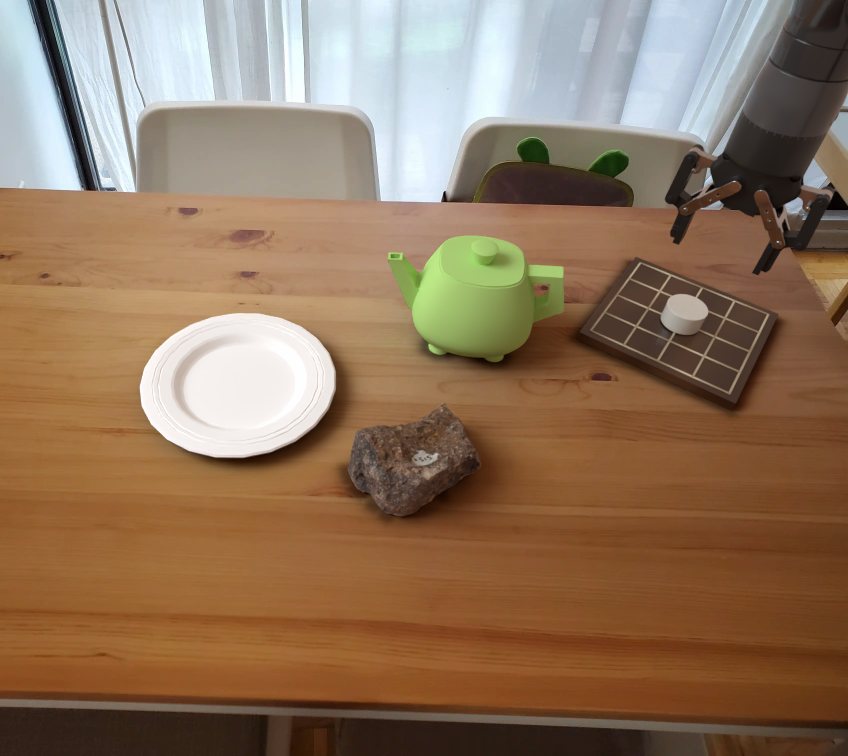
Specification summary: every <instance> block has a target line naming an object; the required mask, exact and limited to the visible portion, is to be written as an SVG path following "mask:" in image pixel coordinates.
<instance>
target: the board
mask: <svg viewBox="0 0 848 756" xmlns="http://www.w3.org/2000/svg"><path fill="white" fill-rule="evenodd" d="M676 294H686V295H691V296H694V297H696V298H698V299H700V300H701V301H702V302H703V303H705V305H706V306H707V308H708V315H707V317H706V319H705V321H704V323H703V325H702V327H701V328H700V330H699V331H698V332H697V333H695V334H692V335H682V334H678V333H675V332H673V331H671V330H669V329H668V328H666V327H665V326H664V325H663V323H662V321H661V314H662V312H663V309H664V307H665V305H666V303H667V301H668V299H669V298H670V297H671V296H673V295H676ZM778 317H779V313H778V312H775V311H772V310H770V309H768V308H765V307H762V306H760V305H757V304H755V303H753V302H750V301H747V300H745V299H742V298H741V297H738V296H736V295H732V294H729V292H728V293H727V292H725V291H723V290H720V289H718V288H715V287H713V286H710V285H707V284H705V283H702V282H700V281H698V280H695V279H693V278H690V277H688V276H685V275H682V274H681V273H678V272H675V271H673V270H670V269H667V268H665V267H663V266H660V265H658V264H655V263H652V262H650V261H647V260H646V259H643V258H640V257H638V256H635V257H634V258H633V260H632V261H631V262H630V264H629V265H628V266H627V268H626V269H625V270H624V271H623V273H622V274H621V276H620V277H619V278H618V279H617V281H616V282H615V284H614V285H613V286H612V288H611V289H610V290H609V292H608V293H607V294H606V296H605V297H604V299H602V301H601V302H600V304H599V305H598V307H597V308H596V309H595V310H594V311H593V312H592V314H591V316H590V317H589V319H588V320H587V321H586V322H585V324H584V325H583V326H582V328H580V329H581V330H579V332H578V334H577V337H576V340H577V341H579V342H582V343H584V344H586V345H588V346H590V347H593V348H595V349H597V350H599V351H601V352H604V353H606V354H608V355H610V356H612V357H613V358H614V357H615V358H616V359H618V360H621V361H623V362H625V363H627V364H629V365H632V366H633V367H636V368H638V369H641V370H643V371H645V372H647V373H649V374H651V375H654V376H655V377H657V378H660V379H662V380H664V381H666V382H669V383H670V384H673V385H675V386H677V387H679V388H681V389H683V390H685V391H687V392H690V393H693V394H694V395H696V396H699V397H701V398H703V399H705V400H707V401H709V402H712V403H714V404H716V405H718V406H721V407H722V408H725V409H727V410H729V411H732V410H733V408H734V407H735V406H736V404H737V403H738V399H739V397H740V396H741V394H742V392H743V389H744V388H745V386H746V383H747V382H748V380H749V377H750V375H751V373H752V370H753V368H754V367H755V364H756V363H757V360H758V358H759V356H760V354H761V352H762V350H763V348H764V346H765V344H766V342H767V339H768V338H769V335H770V333H771V332H772V329H773V326H774V325H775V323H776V321H777V318H778Z"/></svg>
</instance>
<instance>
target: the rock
mask: <svg viewBox="0 0 848 756" xmlns="http://www.w3.org/2000/svg"><path fill="white" fill-rule="evenodd" d="M479 455H480V454H479V453H478V452H477V449H476V448H475V446H474V443H473V442H472V441H471V440H470V439H469V438H468V436H467V433H466V428H465V427H464V424H463V422H462V421H461V419H460V417H458V416H457V415H456V414H454V413H453V412H452V409H450V407H448V406H447V404H446V403H445V402H441V403H440V404H439V405H438V406H437V407H435V408H434V409H433V410H432V411H431V412H430V413H428V414H426V415H424V416H422V417H420V419H418V420H416V421H413V422H408V423H405V424H403V423H402V424H397V425H386V424H381V425H380V424H379V425H372V426H370V427H364V428H359V429H358V430H357V431H355V434H354V439H353V443H352V447H351V450H350V454H349V456H350V459H349V465H348V466H347V472H348V474H349V477H350V480H351V481H352V483H353V485H354V486H355V488H356V489H357V490H359V491H360V492H362V493H368V494H369V495H370V497H372V499H373V501H374V502H375V505H377V506H378V507H379V508H380V509H381V510H382V511H383V512H384V513H385V514H387V515H393V516H396V517H405V516H408V515H412V514H415V513H417V511H419V510H420V508H422V507H423V506H425V505H427V504H428V503H430V502H432V501H433V500H434V498H436V497H437V496H438V495H440V494H441V493H442V492H445V491H446V490H448V489H450V488H452V487H453V486H456V484H457V483H458V482H459V481H461V480H463V478H464V477H466V476H468V475H469V476H470V475H473V474H474V473H476V472H477V471H478V470H480V469H481V467H482V463H481V460H480V456H479Z"/></svg>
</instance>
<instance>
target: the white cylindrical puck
mask: <svg viewBox="0 0 848 756" xmlns="http://www.w3.org/2000/svg"><path fill="white" fill-rule="evenodd" d="M707 315H708V308H707V306H706V305H705V303H703V302H702V301H701V300H700V299H698V298H696V297H694V296H691V295H686V294H676V295H673V296H671V297H670V298H669V299H668V301H667V303H666V305H665V307H664V309H663V312H662V314H661V321H662V323H663V325H664V326H665V327H666V328H668V329H669V330H671V331H673V332H675V333H678V334H682V335H692V334H695V333H697V332H698V331H699V330H700V328H701V327H702V325H703V323H704V321H705V319H706V317H707Z"/></svg>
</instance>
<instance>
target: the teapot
mask: <svg viewBox="0 0 848 756" xmlns="http://www.w3.org/2000/svg"><path fill="white" fill-rule="evenodd" d="M387 263H388V265H389V267H390V270H391V273H392V275H393V276H394V278H395V281H396V283H397V286H398V288H399V290H400V292H401V294H402V296H403V298H404V300H405V303H406V305H407V307H408V308H409V309H411V316H412V322H413V325H414V327H415V329H416V331H417V332H418V334H419V335H420V336H421V337H422V339H423V340H424V341H425V342H426V343H427V344H428V349H429V351H430V352H431V353H433V354H434V355H438V356H439V355H440V356H442V355H445V354H447V353H450V354H452V355H456V356H462V357H467V358H484V359H485V361H488V362H491V363H497V362H500V361H503V359H504V357H505V355H507V354H509V353H512V352H514V351H516V350H517V349H519V348H520V347H522V346H523V345H524V344H526V341H527V340H528V339H529V337H530V335H531V331H532V328H533V323H536V322H539V321H542V320H544V319H545V320H546V319H548V318H550V317H554V316H557V315H558V314H562V313H565V277H564V275H565V274H564V273H565V272H564V270H565V269H564V266H561V265H542V264H528V261H527V259H526V256H525V254H524V252H523V250H522V249H521V248H520V247H518V246H517V245H515V244H514V243H512V242H509V241H507V240H503V239H500V238H496V237H493V236H492V237H491V236H484V235H483V236H482V235H458V236H453V237H450V238H448V239H446V240H445V241H444V242H442V244H441V245H440V246H438V248H437V249H436V250H435V251H434V252H433V254H432V255H431V256H430V258H429V259H428V260H427V262H425V265H424V267H423V268H422V270H421V271H418V270H417V269H416V268H415V267H414V265H412V263H411V262H410V261H409V260H408V258H406V257H405V255H404V252H395V251H394V252H393V251H391V252H390V251H389V252H388V253H387ZM534 285H548V293H545V294H541V295H539V296H535V288H534V287H535V286H534Z"/></svg>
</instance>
